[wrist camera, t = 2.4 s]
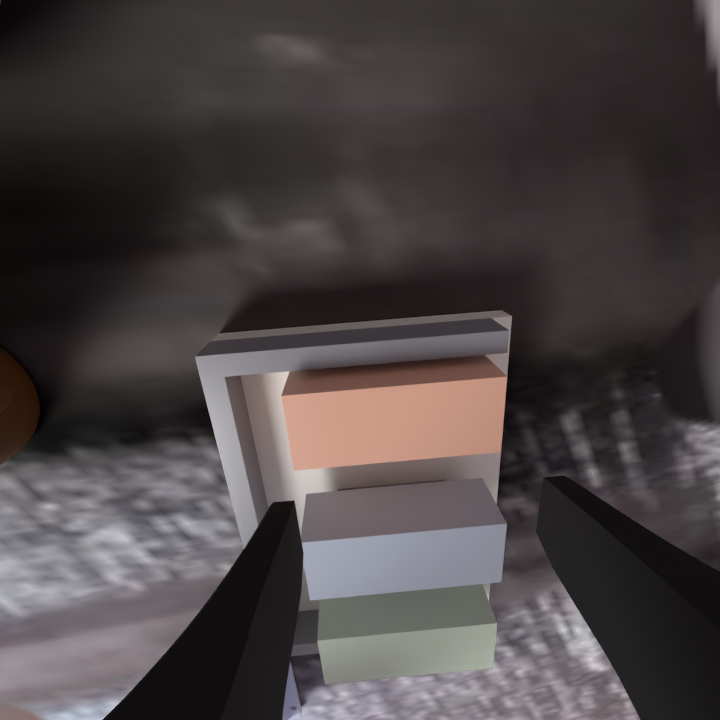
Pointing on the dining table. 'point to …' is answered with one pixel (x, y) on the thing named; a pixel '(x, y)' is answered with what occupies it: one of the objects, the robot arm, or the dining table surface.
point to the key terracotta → (394, 411)
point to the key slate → (402, 538)
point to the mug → (16, 407)
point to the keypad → (268, 426)
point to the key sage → (406, 634)
